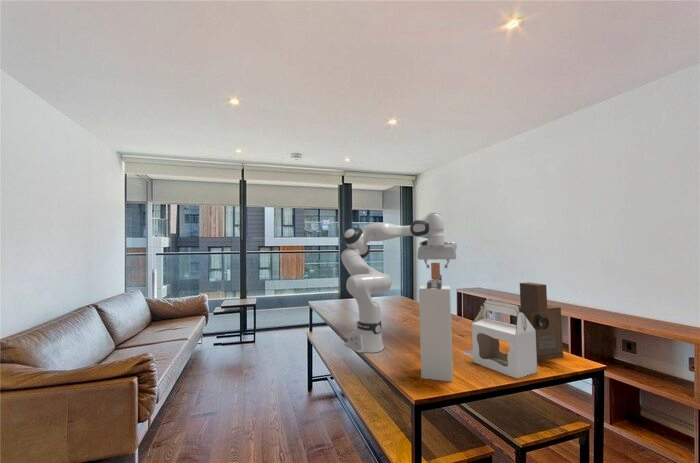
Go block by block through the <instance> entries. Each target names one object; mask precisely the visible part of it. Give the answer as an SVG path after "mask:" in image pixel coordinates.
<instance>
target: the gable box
mask: <svg viewBox="0 0 700 463" xmlns="http://www.w3.org/2000/svg"><path fill="white" fill-rule="evenodd" d="M519 306H520V305H518V304H513V303H507V302H502V301H501V302H500V301H496V300H489V299H486V300H485V301H484V302H483V305H481V306H480V310H479V312H478V313H477V314H476V316H475V318H474V319H473V321H472V323H471V334H472V335H471V336H472V340H471V341H472V349H473V356H472V362H473V363H475V364H478V365H479V366H483V367H485V368H487V369H489V370H493V371H496V372H498V373H500V374H503V375H505V376H508V377H510V376H511V378H513V377H514V378H513V379H516V378H517V379H516V380H519V379H522V378H525V377H528V376H531V375H534V374H536V373H538V362H537V355H536V332H535V329H534V328H533V326H532V325H531V323H530V322H529V321H528V319H527V318H526V316H525V314H523V313H521V312H520V309H519ZM490 312H495V313H500V314H504V315H509V316H513V315H514V316H517V324H516V325H514V324H513V323H510V322H504V321H500V320H496V319H492V318H491V315H490ZM499 340H503V341H504V342H507V343H508V345H509V350H508V353H503V352H501V351H500V341H499ZM530 374H531V375H530ZM527 375H528V376H527ZM524 376H525V377H524ZM521 377H522V378H521ZM518 378H519V379H518Z"/></svg>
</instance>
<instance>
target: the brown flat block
mask: <svg viewBox="0 0 700 463" xmlns="http://www.w3.org/2000/svg"><path fill="white" fill-rule="evenodd" d="M440 265H441V264H440V262H430V271H431V272H430V276H431V278H430V280H432V281H431V287H434V288H437V287H438V281H439V280H442V281H443V278H442V276H443V275H442V274H441V266H440Z"/></svg>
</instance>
